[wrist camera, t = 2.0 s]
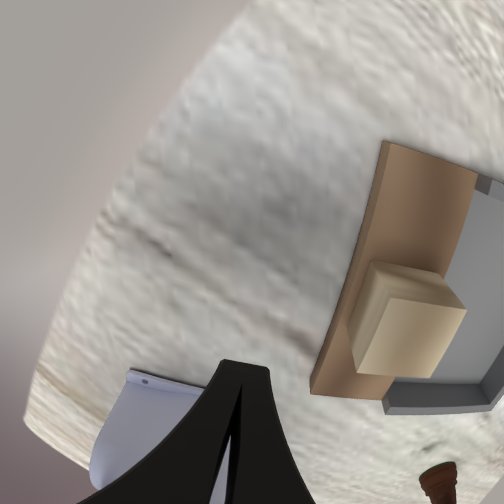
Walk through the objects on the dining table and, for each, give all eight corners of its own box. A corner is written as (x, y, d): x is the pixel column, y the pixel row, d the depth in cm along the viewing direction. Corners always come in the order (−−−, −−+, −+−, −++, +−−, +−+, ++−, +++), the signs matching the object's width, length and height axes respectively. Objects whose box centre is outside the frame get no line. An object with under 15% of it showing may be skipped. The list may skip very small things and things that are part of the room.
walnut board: (309, 379, 20) (310, 394, 18) (382, 140, 14) (391, 142, 12) (378, 386, 19) (381, 400, 18) (465, 169, 13) (478, 173, 12)
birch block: (346, 327, 16) (356, 372, 13) (370, 259, 15) (390, 297, 11) (410, 335, 16) (429, 378, 13) (438, 273, 14) (467, 309, 11)
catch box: (378, 386, 19) (385, 414, 17) (465, 169, 13) (492, 179, 11) (479, 388, 19) (490, 410, 17) (564, 215, 13) (587, 229, 11)
